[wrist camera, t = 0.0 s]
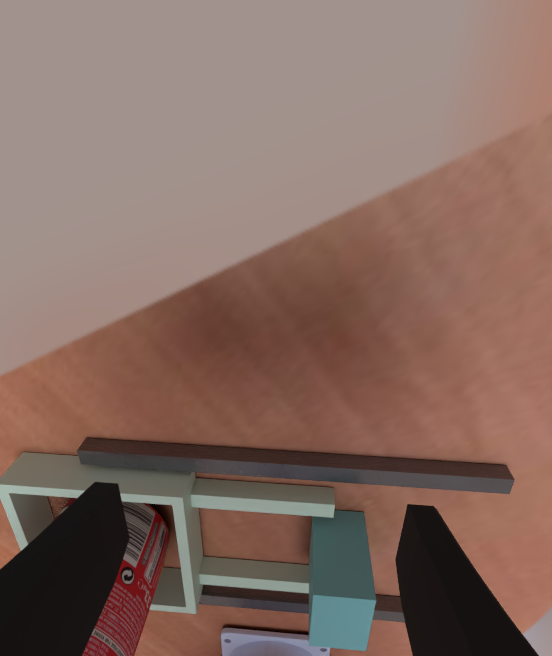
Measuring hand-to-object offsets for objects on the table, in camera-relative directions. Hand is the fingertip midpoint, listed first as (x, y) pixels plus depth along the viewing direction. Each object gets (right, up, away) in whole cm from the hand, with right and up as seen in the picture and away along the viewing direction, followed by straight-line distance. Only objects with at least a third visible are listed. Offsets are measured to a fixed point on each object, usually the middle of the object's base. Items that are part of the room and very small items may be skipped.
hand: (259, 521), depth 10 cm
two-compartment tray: (-4, -7, +15) cm, 18 cm away
